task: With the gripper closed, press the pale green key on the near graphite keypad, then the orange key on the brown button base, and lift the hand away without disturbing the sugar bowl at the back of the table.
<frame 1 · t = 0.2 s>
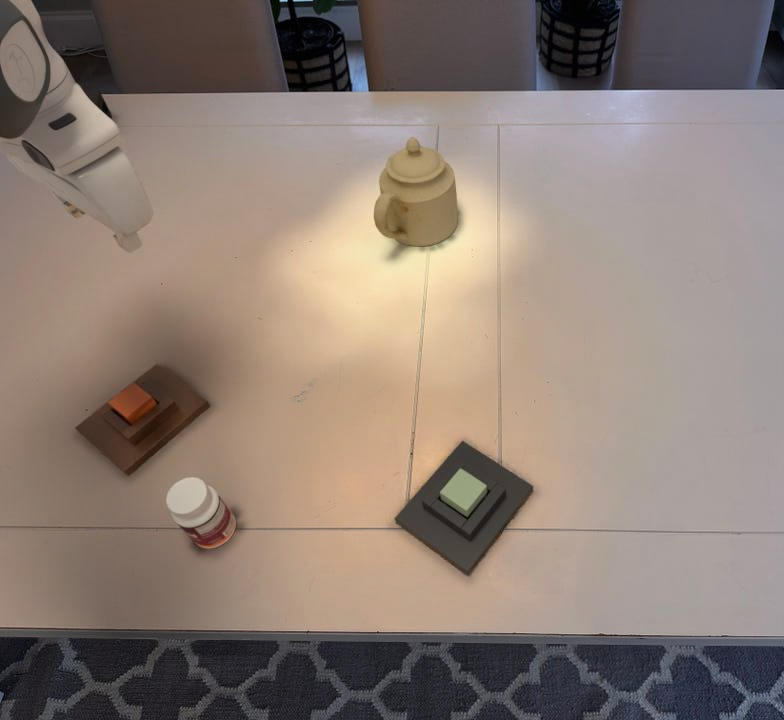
hand: (105, 229, 71), 22 cm above the table, tool pointing down, fingers open, 8 cm apart
electronic device: (80, 132, 121), on the table
near keypad: (465, 506, 74), on the table
brown button base: (145, 419, 83), on the table
far key: (133, 403, 80), point 3 cm above the table, slide at 0.1 cm
pill bottle: (215, 529, 74), on the table
near key: (463, 492, 72), point 3 cm above the table, slide at 0.1 cm
sugar bowl: (421, 232, 102), on the table
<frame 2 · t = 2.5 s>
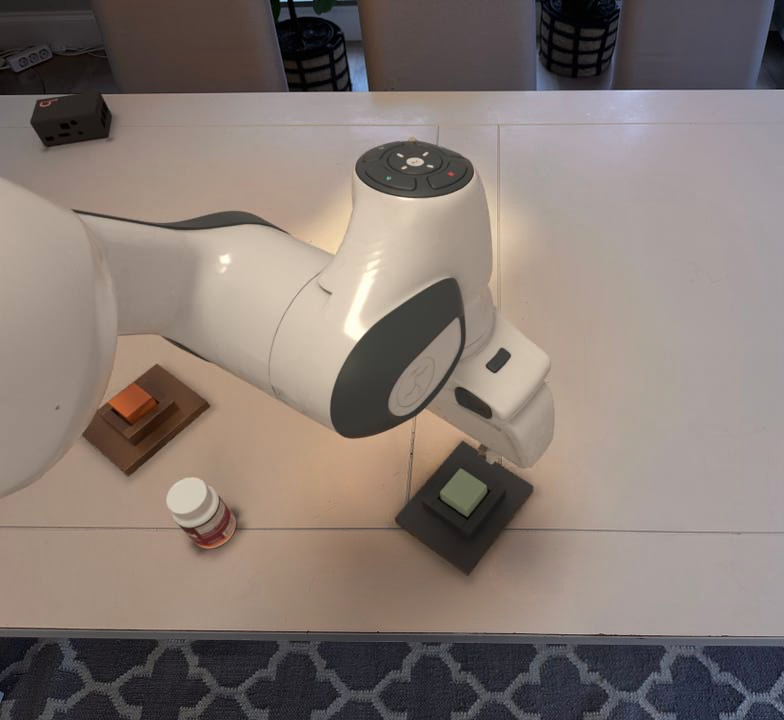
hand: (449, 429, 63), 15 cm above the table, tool pointing down, fingers open, 8 cm apart
nothing on the table moved.
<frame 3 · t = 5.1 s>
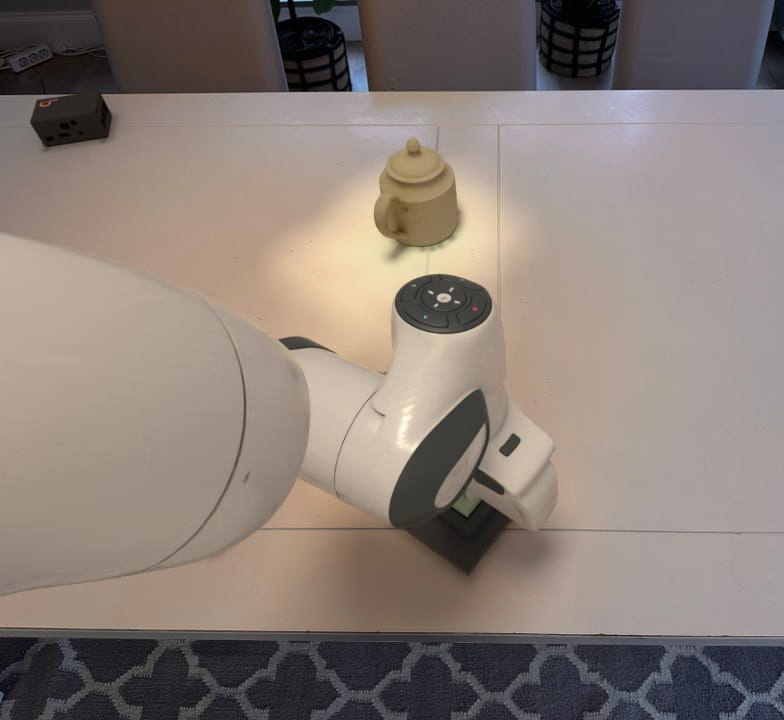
hand: (464, 488, 71), 4 cm above the table, tool pointing down, fingers closed, pressing on near key
near key: (463, 492, 72), point 3 cm above the table, slide at 0.1 cm, touching gripper
everything else where it was.
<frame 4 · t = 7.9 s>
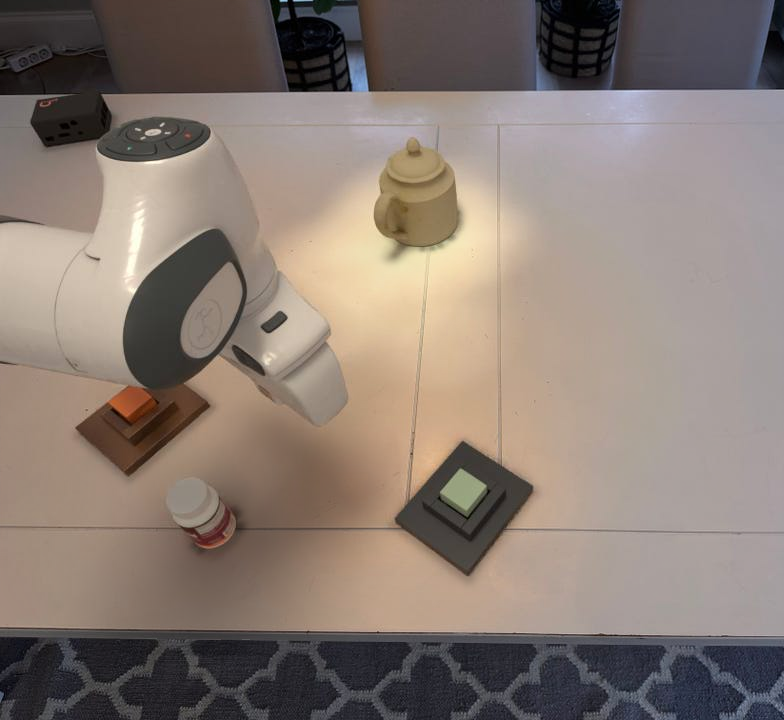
hand: (275, 394, 67), 14 cm above the table, tool pointing down, fingers closed
near key: (463, 492, 72), point 3 cm above the table, slide at 0.1 cm
everything else where it was.
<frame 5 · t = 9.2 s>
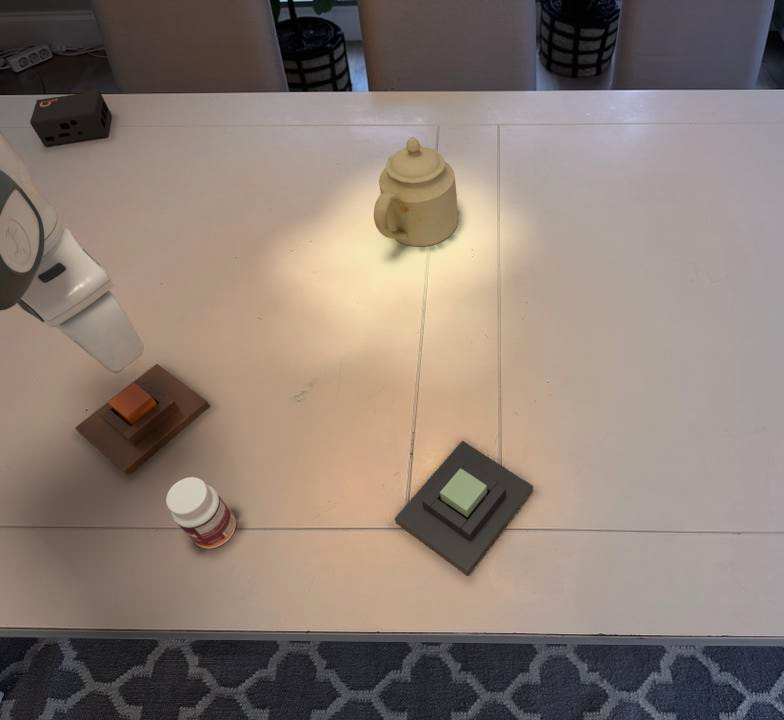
hand: (98, 348, 72), 14 cm above the table, tool pointing down, fingers closed
nothing on the table moved.
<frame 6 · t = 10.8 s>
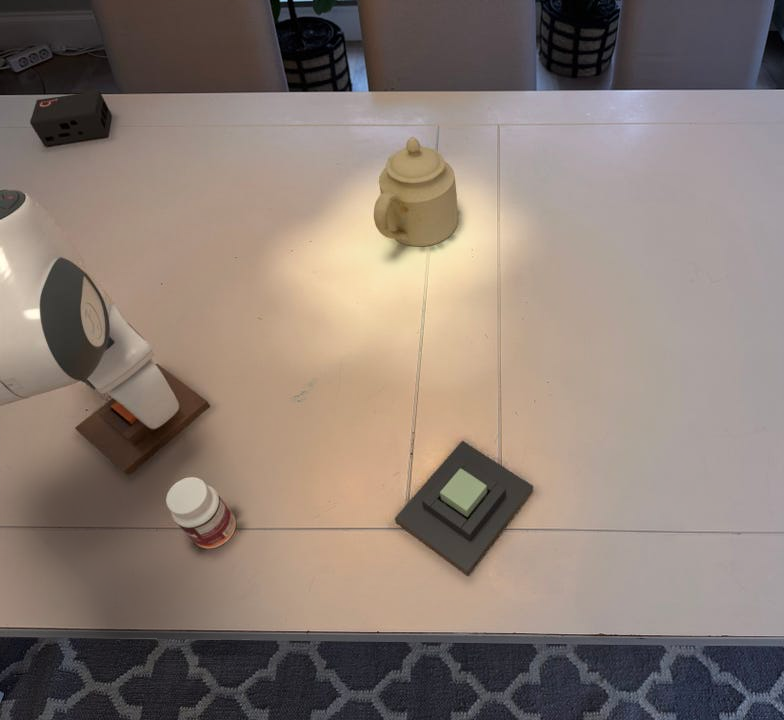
hand: (134, 402, 80), 4 cm above the table, tool pointing down, fingers closed, pressing on far key
far key: (136, 407, 81), point 3 cm above the table, slide at -0.7 cm, touching gripper
everything else where it was.
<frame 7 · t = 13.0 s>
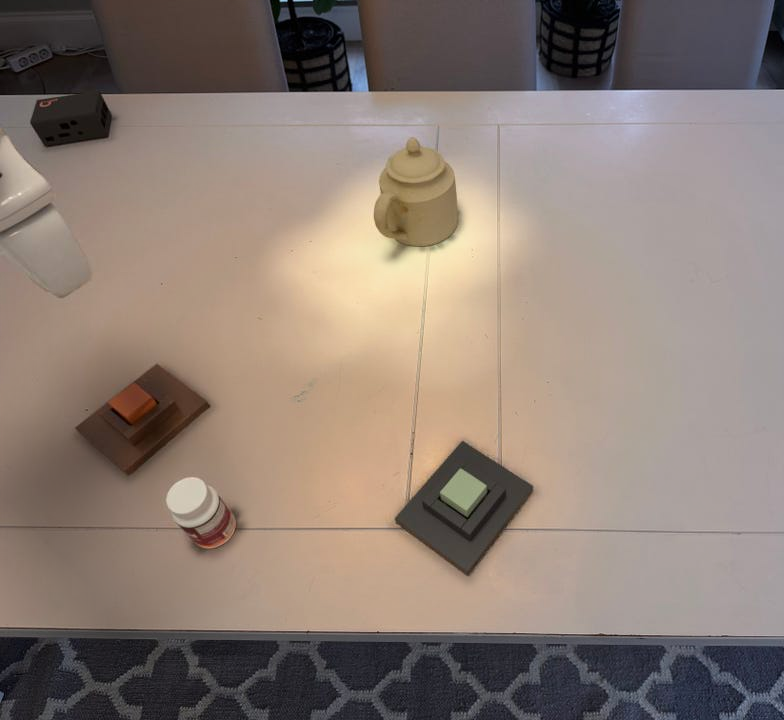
hand: (47, 282, 67), 22 cm above the table, tool pointing down, fingers closed
far key: (133, 403, 80), point 3 cm above the table, slide at 0.1 cm
everything else where it was.
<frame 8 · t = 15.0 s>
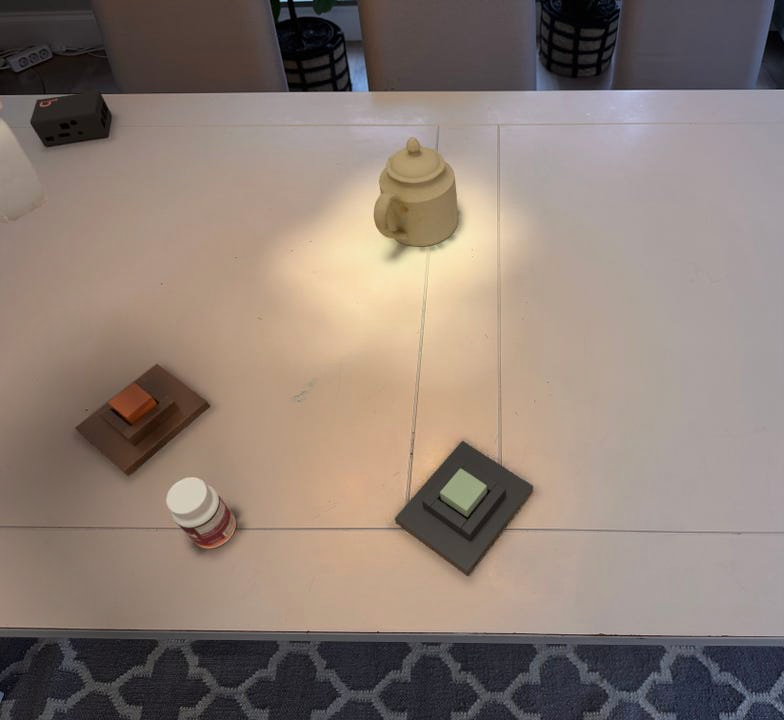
hand: (4, 213, 62), 29 cm above the table, tool pointing down, fingers closed
nothing on the table moved.
at the end: near key pushed in 1.1 cm at the most during the clip, back to where it started at the end; far key pushed in 1.1 cm at the most during the clip, back to where it started at the end; sugar bowl moved 0.2 cm from its start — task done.
